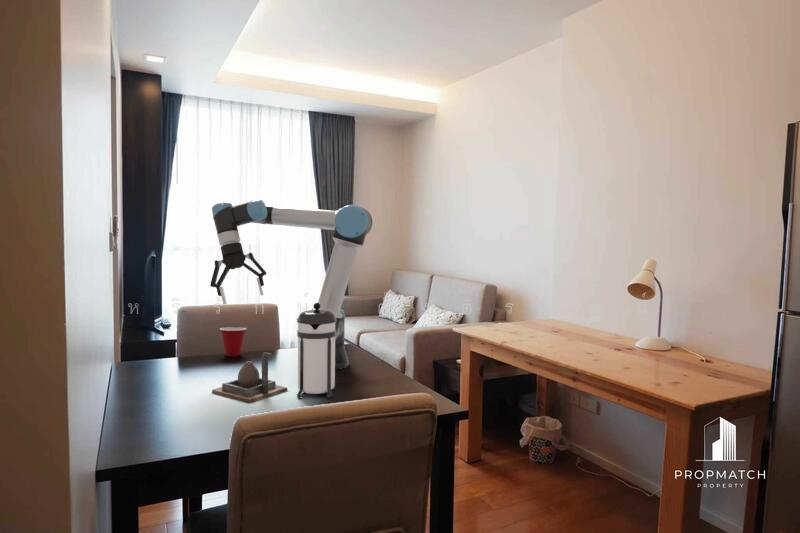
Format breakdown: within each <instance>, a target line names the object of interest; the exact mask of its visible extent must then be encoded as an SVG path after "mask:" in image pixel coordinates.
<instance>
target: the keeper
mask: <svg viewBox="0 0 800 533" xmlns="http://www.w3.org/2000/svg"><path fill="white" fill-rule="evenodd" d="M272 356H273V355H272V352H265V351H264V352H262V355H261V377H259V383H258V385H257V386H254V387H251V388H248V389H247V388H243V387H240V386H239V384H238V378H237V379H233V380H231V381H227V382H223V383H222V384H221V387H216V388H213V389H212V390H211V393H212V394H215V395H218V396H222V397H226V398H230V399H235V400H238V401H241V402H246V403H249V404H251V403H253V402H257V401H260V400H263V399H265V398H268V397H269V398H270V397H272V396H275V395H277V394H282V393H284V392H286V391H288V387H287V386H282V385H278V384H276V380H271V379H269V358H270V357H272Z"/></svg>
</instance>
